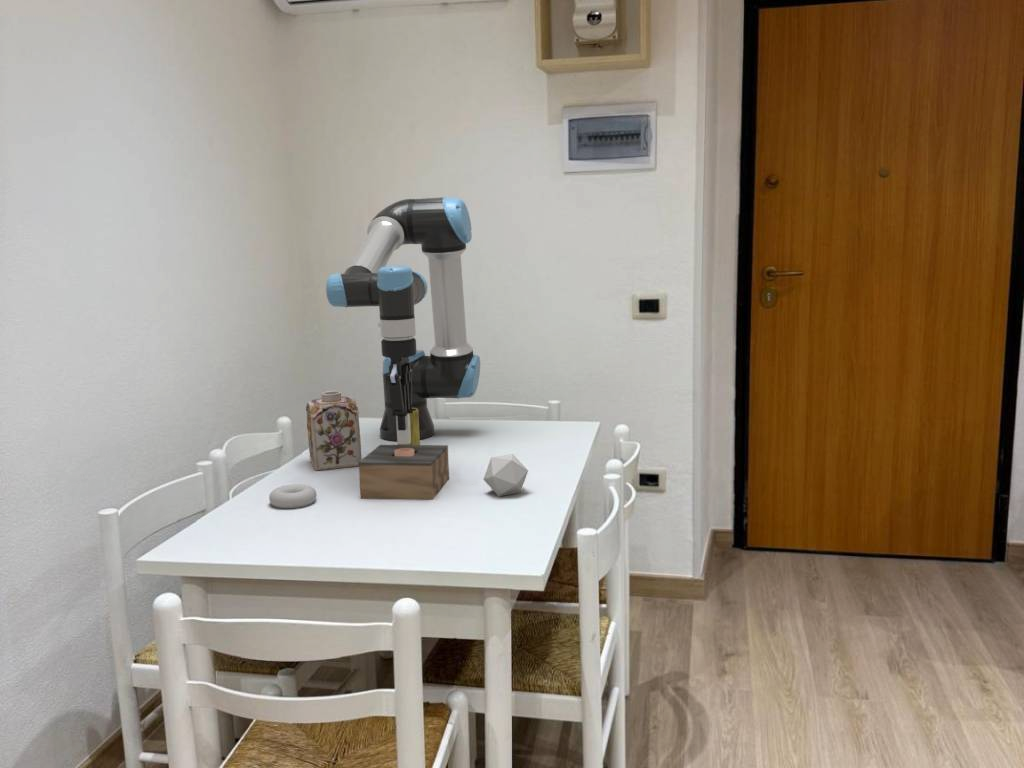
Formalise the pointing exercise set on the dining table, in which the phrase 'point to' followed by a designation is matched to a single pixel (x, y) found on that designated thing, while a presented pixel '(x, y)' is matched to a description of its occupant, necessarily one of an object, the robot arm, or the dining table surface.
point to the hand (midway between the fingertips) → (404, 443)
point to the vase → (414, 427)
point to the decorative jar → (333, 431)
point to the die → (505, 475)
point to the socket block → (404, 472)
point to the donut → (292, 496)
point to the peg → (404, 452)
